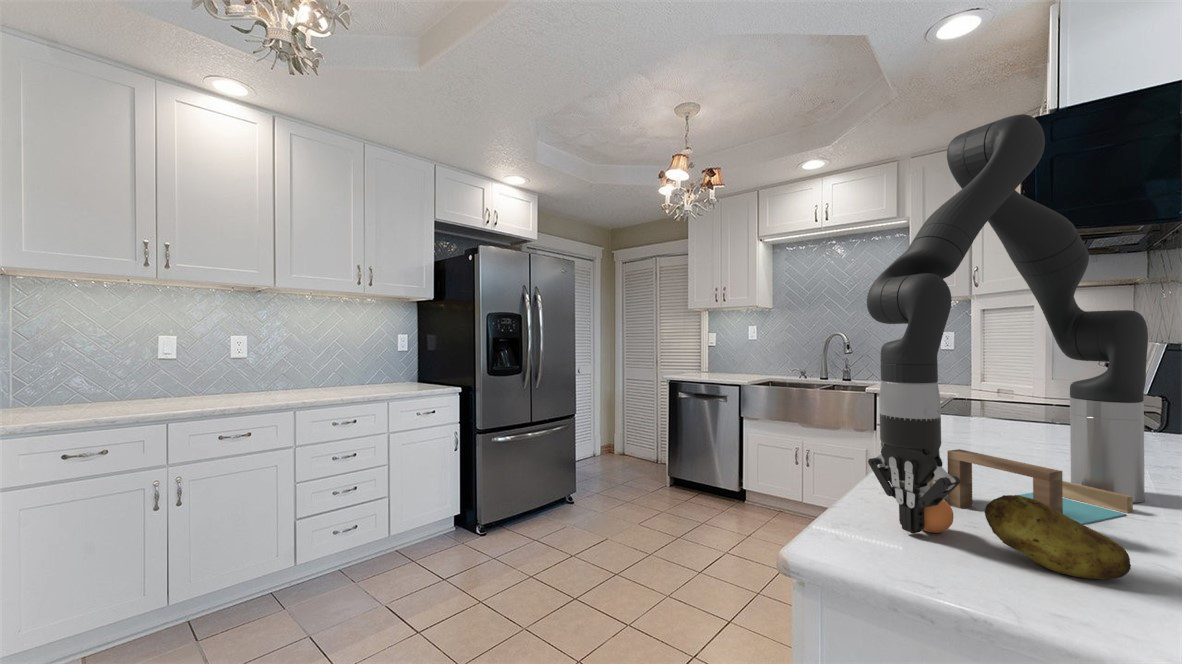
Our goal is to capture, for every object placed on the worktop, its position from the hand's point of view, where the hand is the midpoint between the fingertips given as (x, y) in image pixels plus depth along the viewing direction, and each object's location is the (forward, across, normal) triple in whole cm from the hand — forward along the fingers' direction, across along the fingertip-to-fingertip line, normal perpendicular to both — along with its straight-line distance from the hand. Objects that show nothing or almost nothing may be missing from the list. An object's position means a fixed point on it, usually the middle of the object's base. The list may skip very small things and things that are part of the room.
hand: (911, 530), depth 72 cm
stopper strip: (+1, 0, -42) cm, 42 cm away
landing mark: (+1, 0, -33) cm, 33 cm away
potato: (+1, -13, -7) cm, 15 cm away
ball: (-2, 0, -4) cm, 4 cm away
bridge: (+1, 0, -19) cm, 19 cm away
